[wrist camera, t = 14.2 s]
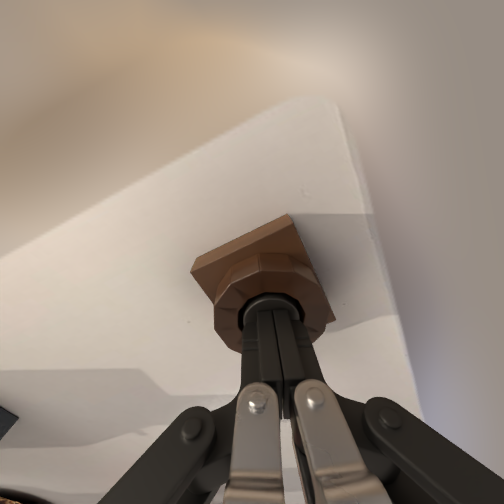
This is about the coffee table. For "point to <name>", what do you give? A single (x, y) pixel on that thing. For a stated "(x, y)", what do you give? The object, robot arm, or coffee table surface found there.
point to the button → (269, 305)
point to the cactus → (7, 501)
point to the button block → (261, 279)
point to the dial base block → (6, 422)
